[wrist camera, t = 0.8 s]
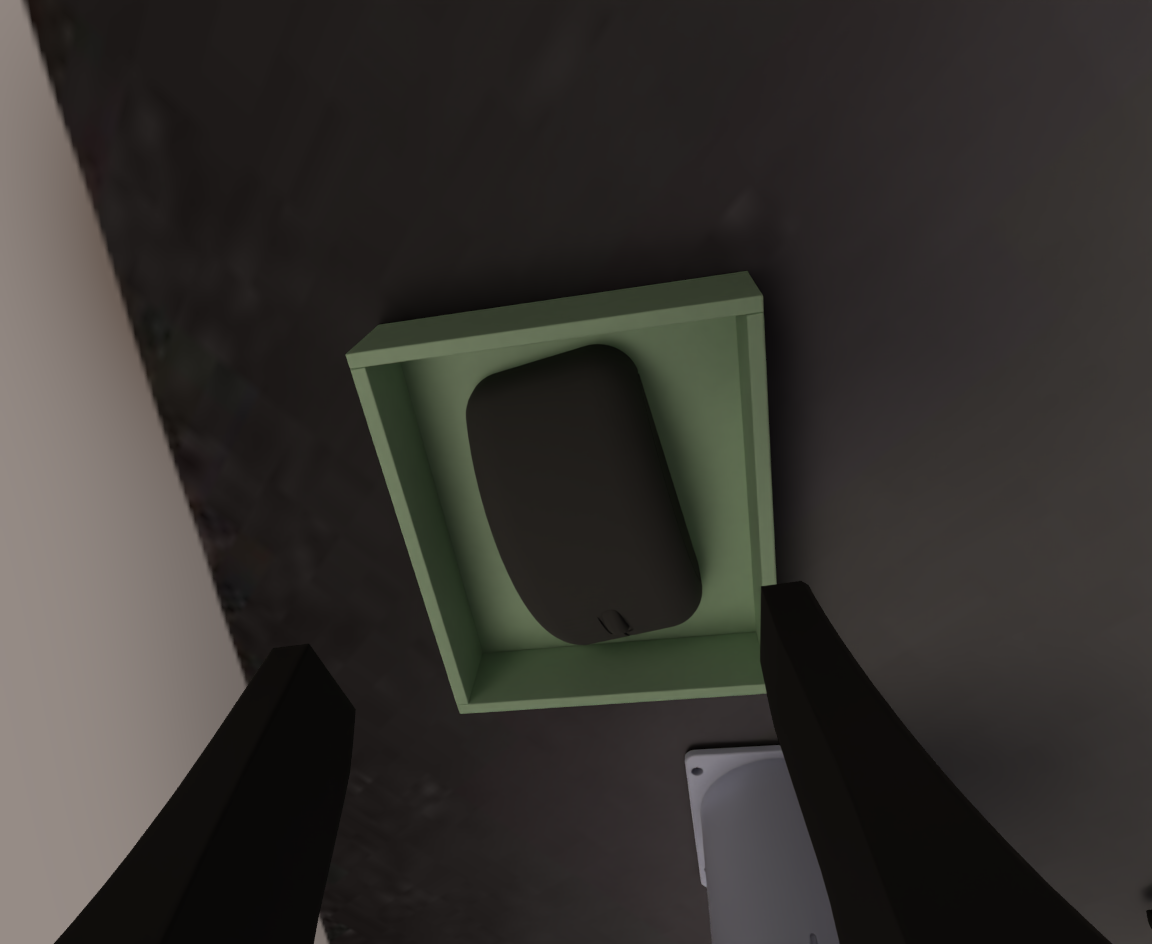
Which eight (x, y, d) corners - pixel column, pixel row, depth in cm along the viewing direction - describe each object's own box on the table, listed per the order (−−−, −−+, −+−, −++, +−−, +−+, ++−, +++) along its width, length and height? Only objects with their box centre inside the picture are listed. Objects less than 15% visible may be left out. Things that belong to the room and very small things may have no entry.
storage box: (768, 636, 30) (782, 693, 27) (475, 659, 32) (459, 714, 29) (747, 270, 23) (763, 295, 20) (378, 324, 25) (344, 354, 22)
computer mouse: (560, 629, 30) (550, 700, 27) (455, 385, 25) (426, 432, 22) (709, 596, 29) (719, 666, 25) (627, 332, 24) (626, 373, 21)
